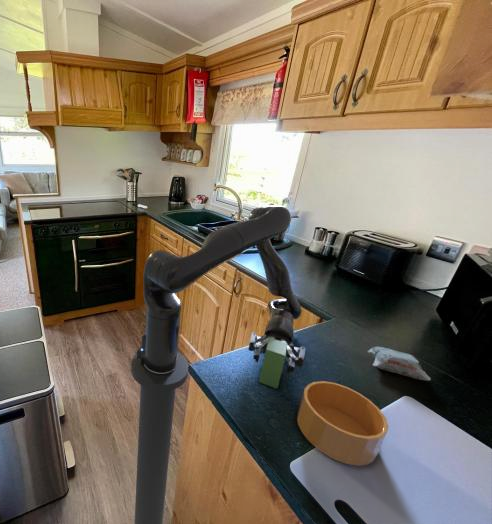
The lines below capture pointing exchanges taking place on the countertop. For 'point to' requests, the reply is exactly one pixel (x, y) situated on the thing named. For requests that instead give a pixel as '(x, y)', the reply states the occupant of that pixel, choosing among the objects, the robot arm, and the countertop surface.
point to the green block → (273, 362)
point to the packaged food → (397, 363)
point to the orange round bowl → (341, 423)
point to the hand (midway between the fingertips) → (272, 364)
